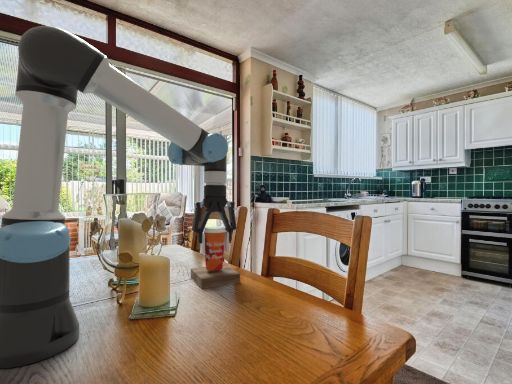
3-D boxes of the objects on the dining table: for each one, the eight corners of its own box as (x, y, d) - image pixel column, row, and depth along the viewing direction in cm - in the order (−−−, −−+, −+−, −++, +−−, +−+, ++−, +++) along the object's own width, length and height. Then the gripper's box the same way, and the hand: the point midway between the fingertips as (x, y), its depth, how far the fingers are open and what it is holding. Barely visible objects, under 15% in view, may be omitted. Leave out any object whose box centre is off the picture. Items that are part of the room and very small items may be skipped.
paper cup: (203, 272, 92) (204, 229, 92) (201, 266, 99) (202, 226, 99) (227, 270, 94) (228, 228, 94) (224, 265, 101) (224, 225, 101)
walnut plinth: (240, 282, 94) (240, 273, 94) (201, 288, 88) (201, 279, 88) (225, 272, 105) (225, 264, 105) (190, 277, 99) (190, 268, 99)
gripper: (238, 185, 104) (237, 247, 104) (182, 184, 95) (181, 252, 95) (247, 184, 98) (246, 251, 98) (187, 183, 88) (187, 257, 88)
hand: (214, 251), depth 96 cm, fingers closed on paper cup, 8 cm apart
